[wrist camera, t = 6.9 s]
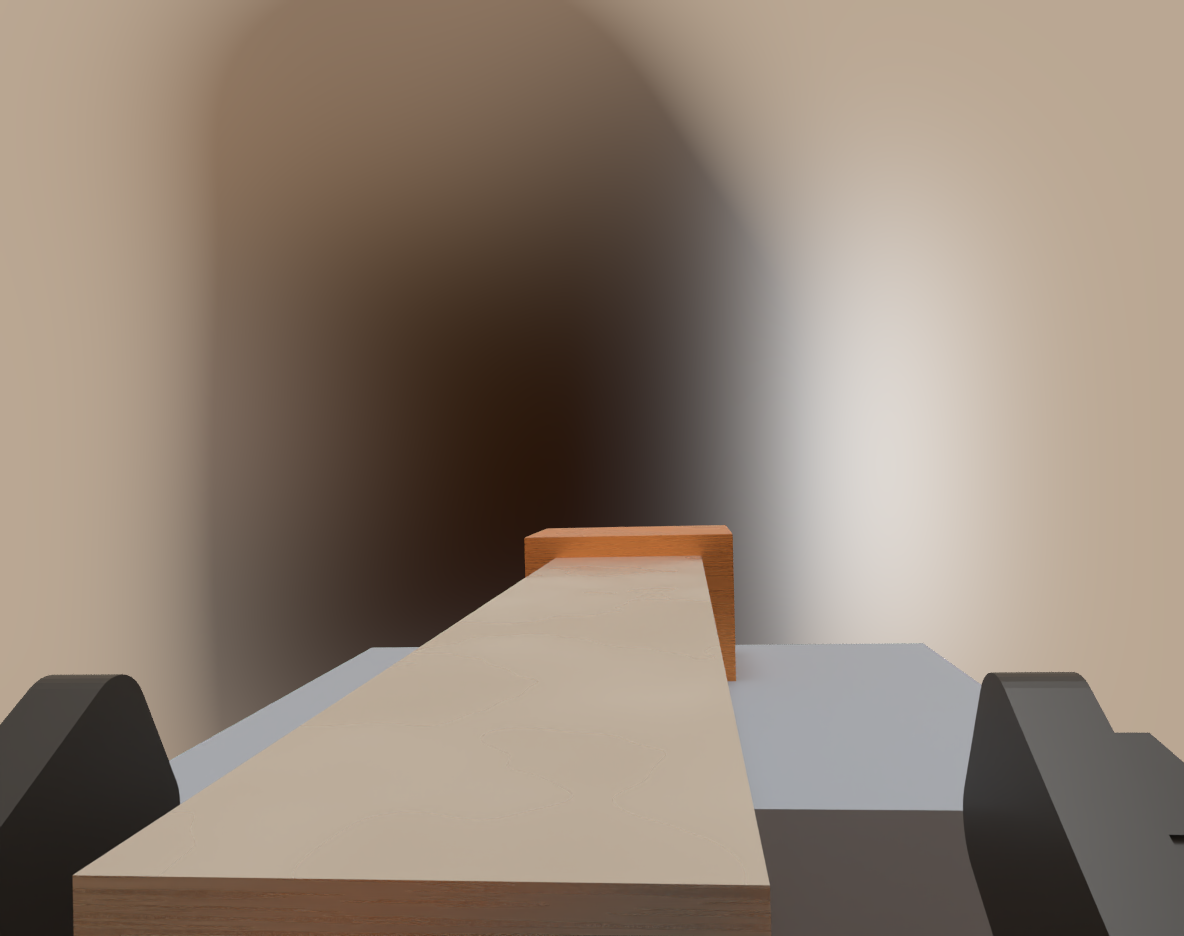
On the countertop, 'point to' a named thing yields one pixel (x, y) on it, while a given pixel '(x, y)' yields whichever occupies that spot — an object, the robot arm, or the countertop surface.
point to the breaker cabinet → (790, 779)
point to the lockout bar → (490, 777)
